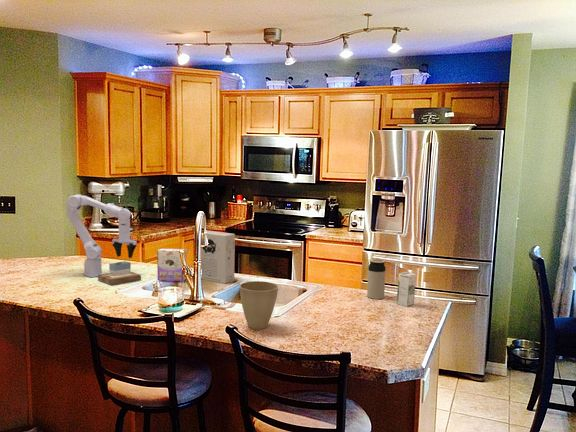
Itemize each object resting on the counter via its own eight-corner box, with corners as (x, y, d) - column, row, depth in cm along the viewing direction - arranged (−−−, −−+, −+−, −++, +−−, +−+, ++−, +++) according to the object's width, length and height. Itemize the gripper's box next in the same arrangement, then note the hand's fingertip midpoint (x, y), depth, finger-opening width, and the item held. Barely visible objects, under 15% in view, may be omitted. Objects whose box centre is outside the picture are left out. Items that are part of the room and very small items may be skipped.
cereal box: (234, 281, 267) (235, 233, 264) (225, 283, 260) (225, 235, 258) (203, 275, 278) (203, 229, 275) (193, 277, 272) (193, 231, 269)
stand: (98, 280, 260) (98, 274, 259) (126, 275, 271) (126, 270, 271) (112, 285, 250) (111, 279, 250) (140, 280, 262) (140, 274, 262)
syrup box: (403, 301, 236) (404, 271, 234) (414, 304, 232) (416, 273, 230) (396, 304, 232) (398, 272, 230) (407, 307, 228) (409, 275, 226)
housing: (125, 272, 266) (125, 261, 265) (130, 274, 262) (130, 262, 262) (109, 275, 259) (109, 263, 258) (114, 276, 256) (114, 265, 255)
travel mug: (387, 297, 243) (389, 260, 241) (378, 300, 237) (379, 262, 235) (373, 294, 248) (374, 257, 246) (363, 297, 242) (365, 259, 240)
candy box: (186, 279, 266) (186, 248, 265) (183, 282, 261) (183, 250, 259) (160, 278, 268) (160, 247, 266) (157, 281, 262) (156, 249, 260)
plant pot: (246, 334, 187) (246, 292, 185) (233, 322, 200) (234, 282, 199) (283, 330, 193) (284, 288, 191) (269, 318, 206) (269, 279, 205)
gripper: (108, 231, 269) (108, 256, 271) (130, 233, 264) (130, 259, 265) (117, 230, 276) (117, 254, 277) (139, 232, 270) (139, 257, 272)
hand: (124, 257), depth 272 cm, fingers open, 7 cm apart
